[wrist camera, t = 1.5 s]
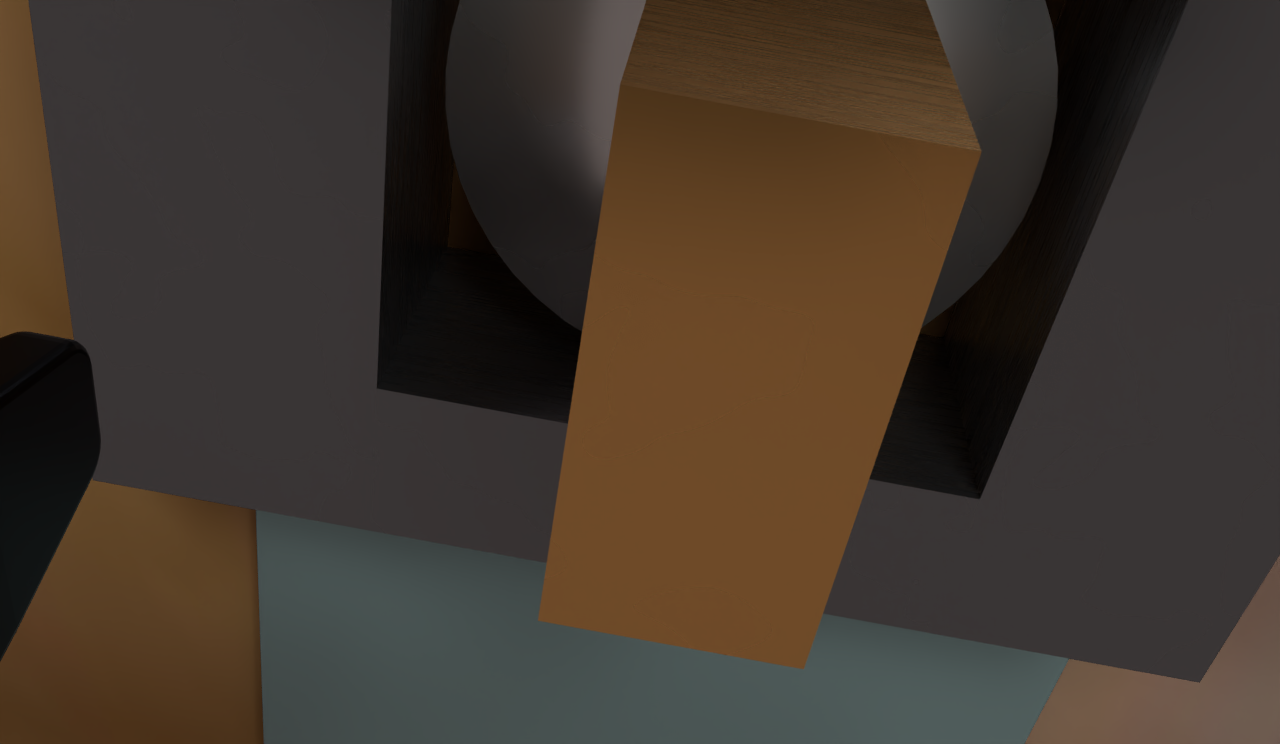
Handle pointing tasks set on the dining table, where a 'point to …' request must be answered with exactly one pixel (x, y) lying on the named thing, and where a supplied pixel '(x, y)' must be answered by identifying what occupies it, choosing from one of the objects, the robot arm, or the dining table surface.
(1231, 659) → the dining table surface
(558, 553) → the grey round brown-barred piece
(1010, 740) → the mat
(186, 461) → the housing
